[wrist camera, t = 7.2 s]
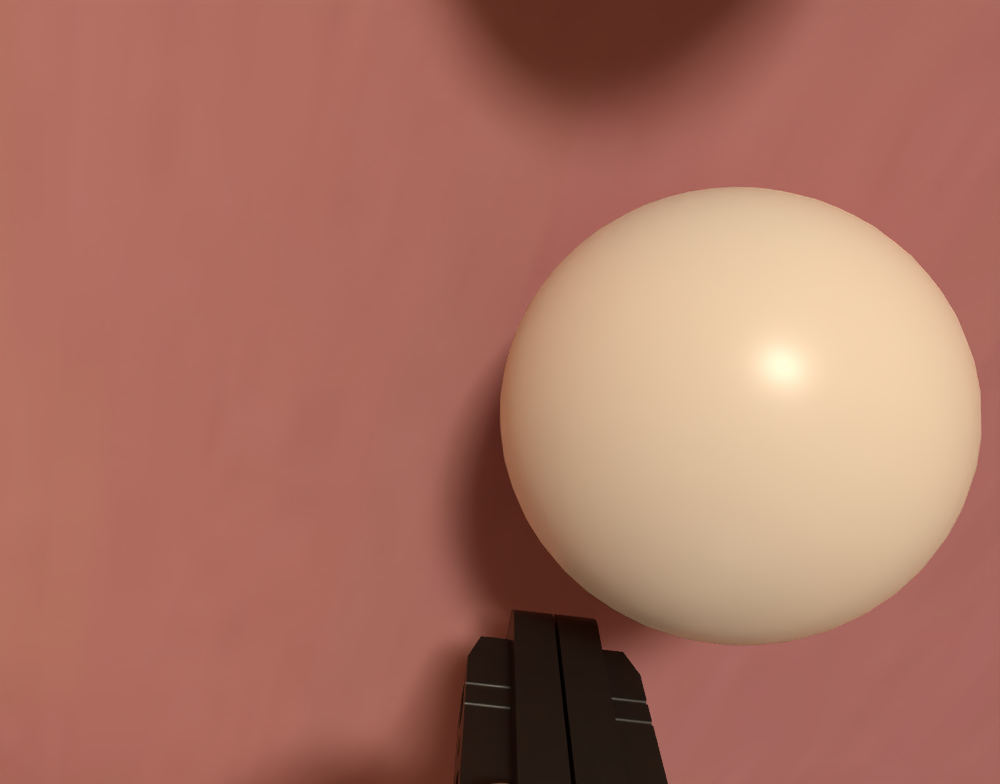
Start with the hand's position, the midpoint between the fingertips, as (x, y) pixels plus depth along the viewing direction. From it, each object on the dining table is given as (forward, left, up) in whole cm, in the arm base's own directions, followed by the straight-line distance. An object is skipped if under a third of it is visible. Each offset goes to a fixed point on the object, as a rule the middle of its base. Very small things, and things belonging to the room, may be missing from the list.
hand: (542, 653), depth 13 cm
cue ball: (+5, +3, +1) cm, 6 cm away
